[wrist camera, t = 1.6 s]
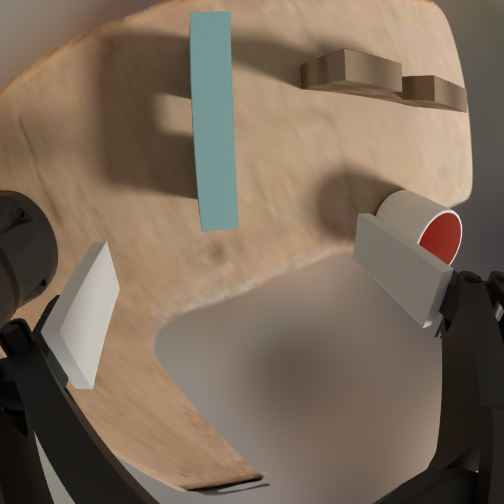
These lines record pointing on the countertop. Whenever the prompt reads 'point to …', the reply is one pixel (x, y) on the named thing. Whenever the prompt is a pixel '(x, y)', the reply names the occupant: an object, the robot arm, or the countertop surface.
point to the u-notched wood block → (380, 81)
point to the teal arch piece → (213, 119)
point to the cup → (423, 223)
